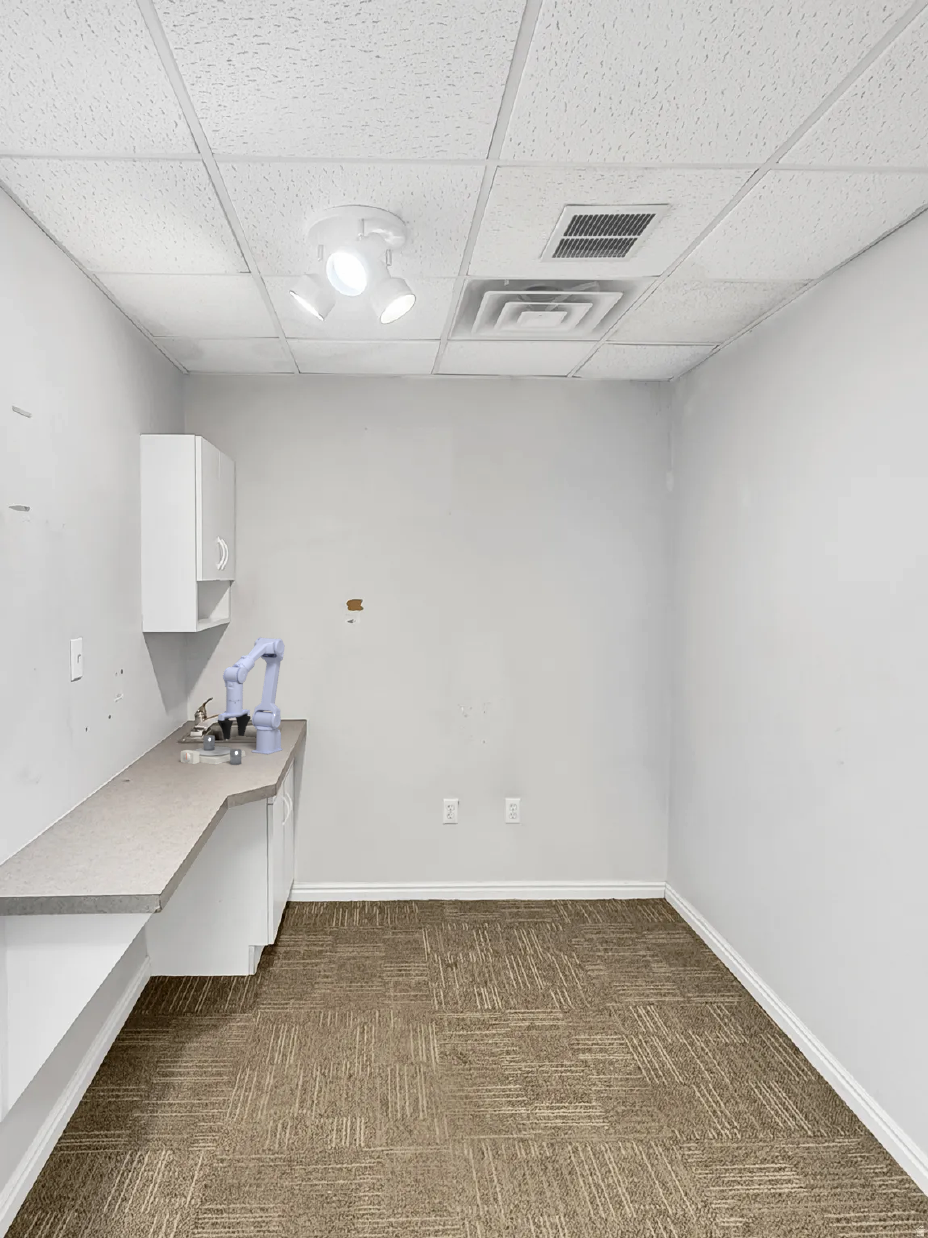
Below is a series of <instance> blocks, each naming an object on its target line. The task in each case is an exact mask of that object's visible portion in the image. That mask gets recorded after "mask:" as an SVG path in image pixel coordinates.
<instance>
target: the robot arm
mask: <svg viewBox="0 0 928 1238" xmlns="http://www.w3.org/2000/svg"><path fill="white" fill-rule="evenodd" d="M253 645H254V646H253V648H251V650H250V652H248V654H247V655H245V654H243V655H241V656H240V658H239V659H238V660H237V661H236V662H235V663H234V664H233V665H232V666H228V667H226V668H225V669H224V671H223V675H222V680H223V681H224V687H225V688H226V693H225V694H226V696H225V705H226V706H225V707H226V708H225V711H223V712H222V713H220V714H218V715H217V724H218V726H219V727H220V729H221V732H222V735H223V739H224V740H227V741H228V740H231V733H232V732H231V731H232V726H233V723H234V721H233V720H230V719H234V718H235V720H236V723H237V735H238V736H239V737H244V736H245V733H246V730H247V727H248V724H249V722H250V721H251V723H252V726H253V727H254V729H255V730H256V738H255V739H256V743H255V744H256V748H255V749H253V750H251V751H250V752H251V753H256V754H262V755H263V754H264V755H270V754H275V753H277V752H280V751H283V749H284V748H282V733H281V730H280V729H279V726H280V725H281V722H282V721H281V720H282V718H281V709H280V707H278V706H277V705H276V697H277V689H278V683H279V682H278V681H279V676H280V675H279V674H280V667H281V661H283V660H284V659H283V658H284V656H285V655H284V653H285V643H284V641H283V639H282V638H280V637H279V638H274V637H273V638H271V637H261V636H260V637H258V638H256V640H255V641H254V643H253ZM259 658H261V659H262V660H264V661H265V662H266V664H265V671H264V672H265V673H264V680H263V686H262V695H261V699H260V700H261V701H260V703H259V704H258V705H256V706H255V707H254V711H253V713H252V717H251V715H250V714H251V712H250V711H251V710H250V709H247V708H246V709H243V705H244V704H243V703H244V702H243V701H244V698H243V697H244V693H243V691H244V690H243V689H244V682H245V681H246V680H247V677H248V674H249V672H250V671H251V670H252V669H253V668H254V667H255V663H256V661H257V660H258V659H259Z"/></svg>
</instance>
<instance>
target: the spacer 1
mask: <svg viewBox="0 0 928 1238" xmlns="http://www.w3.org/2000/svg"><path fill="white" fill-rule="evenodd" d="M215 741H216V737H215V735H212V734H210V735H209V734H208V735H207V734H206V735H204V736H203V747H202V748H203V750H205V751H212V750H215V745H216V744H215V743H216V742H215Z"/></svg>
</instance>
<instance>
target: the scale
mask: <svg viewBox="0 0 928 1238" xmlns="http://www.w3.org/2000/svg"><path fill="white" fill-rule="evenodd" d="M231 749H233V748H232V747H228V746H219V745H217V746H215V750H212V751H205V750H203V747H198V748H196V749H194V750H191V749H185V750H184V749H183V750H181V751H180V763H182V764H183V763H184V764H189V765H196V764H199V763H203V764H209V765H219V764H222V763H226V762H230V750H231ZM244 757H246V751H245V750H242V757H241V758H244Z"/></svg>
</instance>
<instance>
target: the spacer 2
mask: <svg viewBox="0 0 928 1238" xmlns="http://www.w3.org/2000/svg"><path fill="white" fill-rule="evenodd" d="M242 751H243V750H242V749H241V748H232V749H231V750H230V761H229V765H231V766H239V765H242V758H243V757H242Z"/></svg>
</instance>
